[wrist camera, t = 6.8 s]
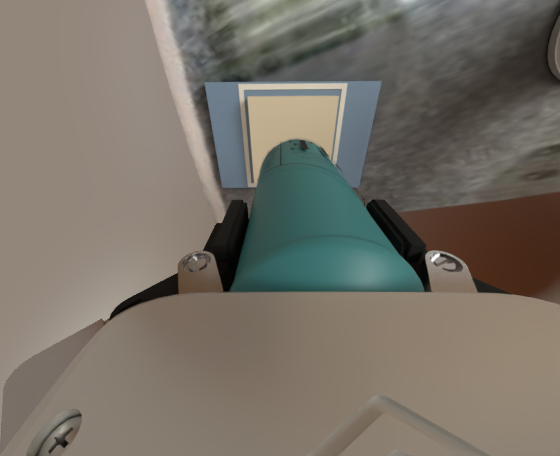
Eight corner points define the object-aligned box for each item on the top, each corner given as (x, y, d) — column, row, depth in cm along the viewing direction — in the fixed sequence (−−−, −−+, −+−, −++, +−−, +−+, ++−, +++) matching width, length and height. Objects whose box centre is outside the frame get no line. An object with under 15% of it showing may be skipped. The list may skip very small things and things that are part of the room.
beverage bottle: (262, 202, 22) (200, 594, 5) (256, 131, 18) (-90, 749, 1) (326, 200, 21) (489, 596, 5) (334, 129, 18) (1189, 773, 1)
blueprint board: (377, 81, 27) (388, 80, 24) (356, 183, 35) (363, 192, 32) (208, 82, 27) (199, 81, 25) (224, 184, 35) (219, 192, 32)
